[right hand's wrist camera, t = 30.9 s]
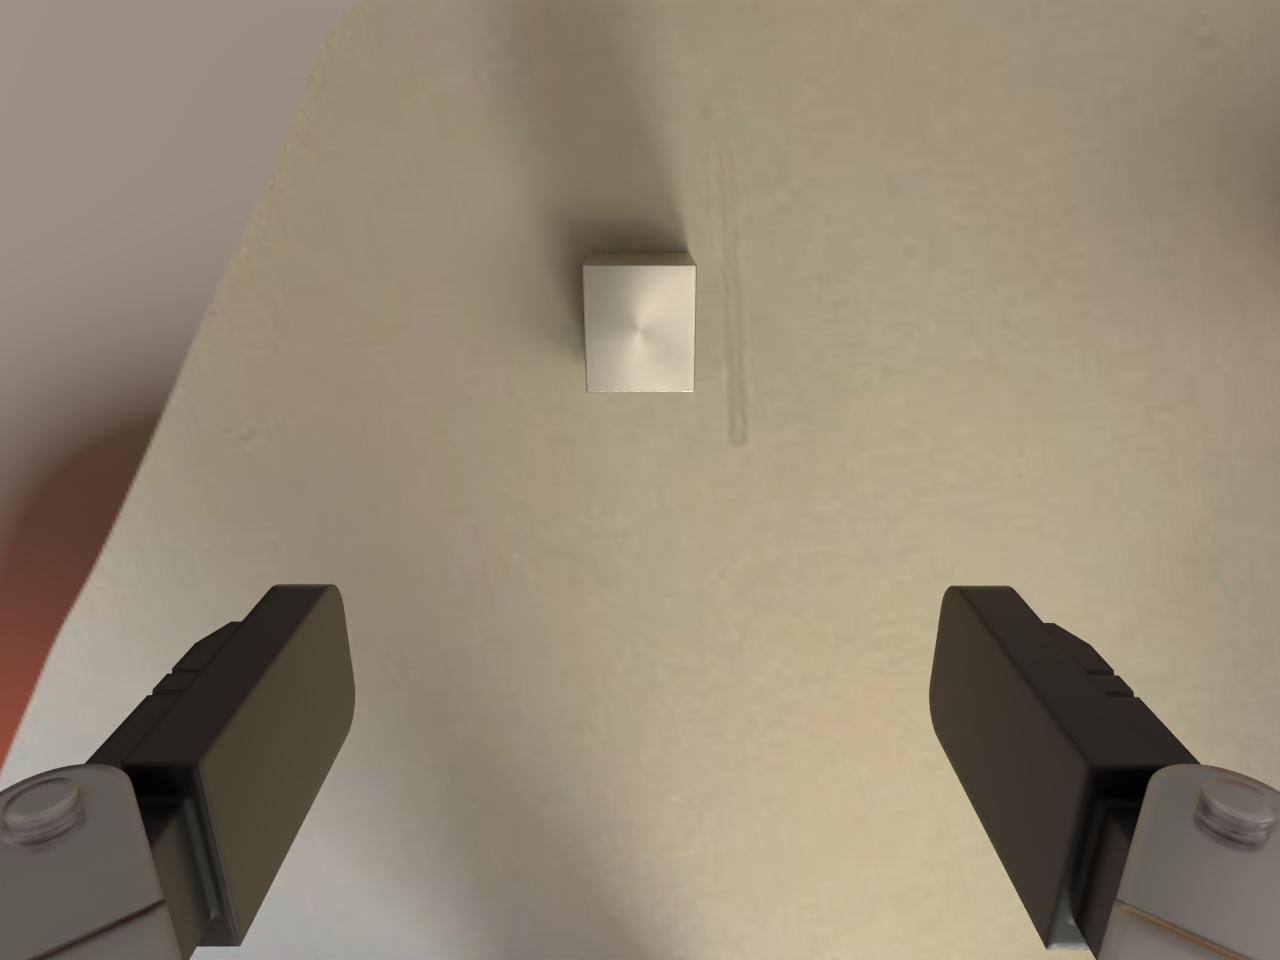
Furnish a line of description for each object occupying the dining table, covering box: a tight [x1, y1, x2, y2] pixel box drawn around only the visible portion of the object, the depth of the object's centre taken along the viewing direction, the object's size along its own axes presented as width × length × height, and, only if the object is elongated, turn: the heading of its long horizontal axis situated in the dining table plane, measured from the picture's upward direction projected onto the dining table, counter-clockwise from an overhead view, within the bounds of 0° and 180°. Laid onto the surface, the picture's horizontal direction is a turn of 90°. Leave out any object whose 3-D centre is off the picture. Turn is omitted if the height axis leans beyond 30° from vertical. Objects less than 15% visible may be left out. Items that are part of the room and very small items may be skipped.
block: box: [582, 252, 697, 392], centre depth 33 cm, size 4×5×4 cm
